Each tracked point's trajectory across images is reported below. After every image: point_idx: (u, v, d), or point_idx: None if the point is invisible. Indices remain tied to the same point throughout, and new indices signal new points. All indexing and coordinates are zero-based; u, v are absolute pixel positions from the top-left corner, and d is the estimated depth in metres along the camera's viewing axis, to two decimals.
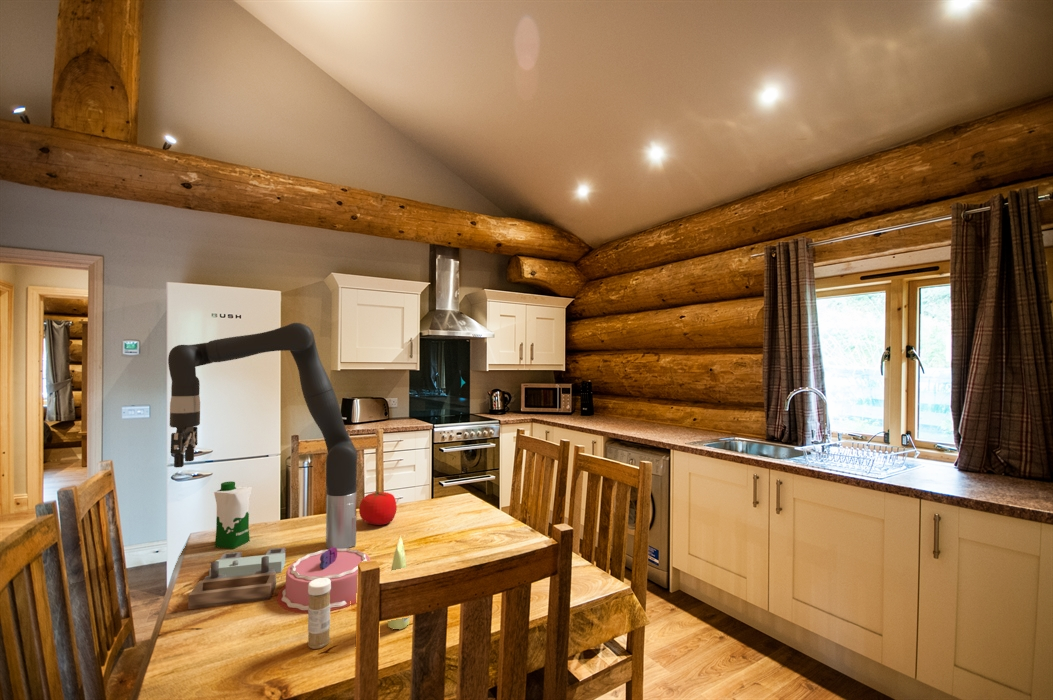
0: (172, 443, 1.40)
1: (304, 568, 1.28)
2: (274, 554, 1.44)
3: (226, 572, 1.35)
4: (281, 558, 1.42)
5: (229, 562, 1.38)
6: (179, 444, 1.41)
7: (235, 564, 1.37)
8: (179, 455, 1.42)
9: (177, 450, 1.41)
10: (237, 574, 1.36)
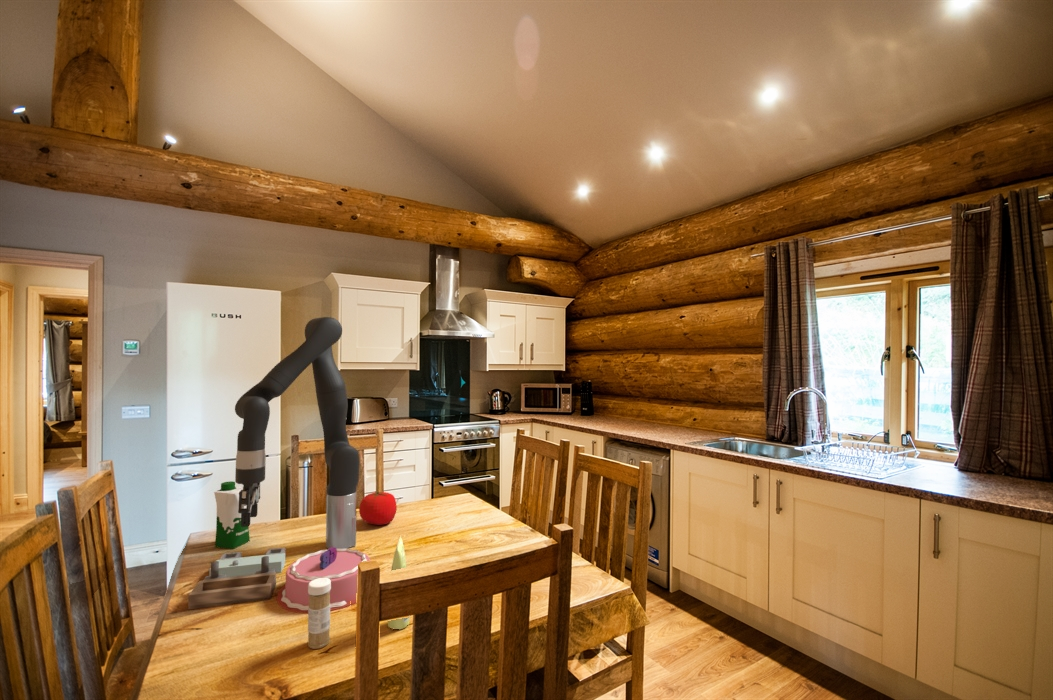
0: (240, 502, 1.33)
1: (304, 568, 1.28)
2: (274, 554, 1.44)
3: (226, 572, 1.35)
4: (281, 558, 1.42)
5: (229, 562, 1.38)
6: (247, 503, 1.34)
7: (235, 564, 1.37)
8: (246, 514, 1.35)
9: (245, 509, 1.33)
10: (237, 574, 1.36)
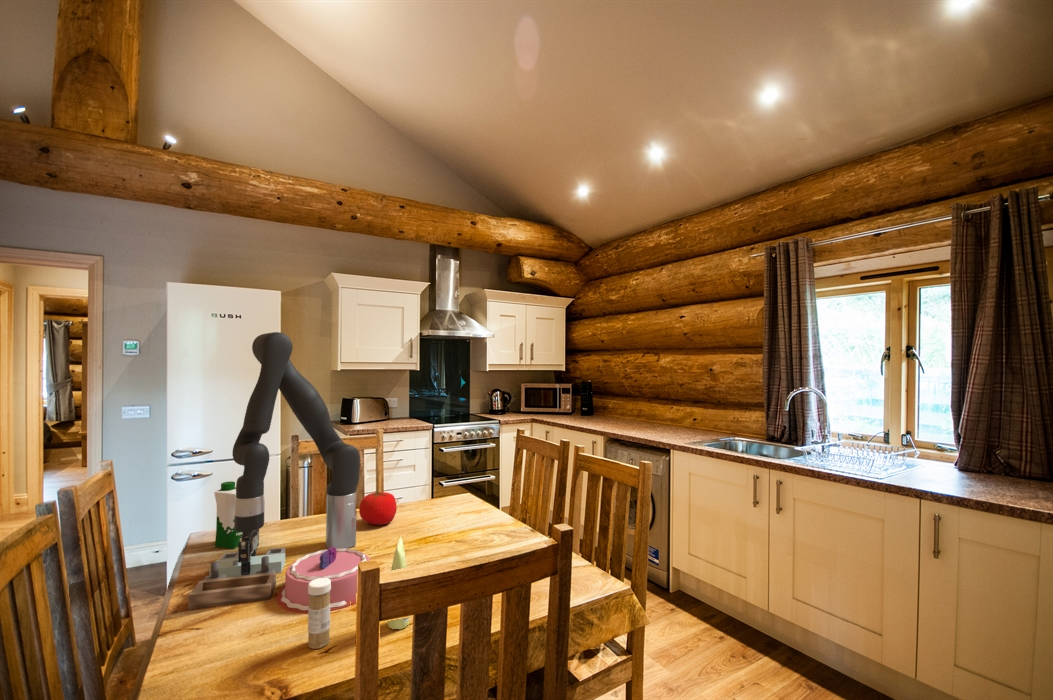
0: (239, 553, 1.33)
1: (303, 568, 1.28)
2: (274, 554, 1.44)
3: (226, 572, 1.35)
4: (281, 558, 1.42)
5: (229, 562, 1.38)
6: (247, 553, 1.34)
7: (235, 564, 1.37)
8: (246, 563, 1.36)
9: (245, 559, 1.34)
10: (237, 574, 1.36)
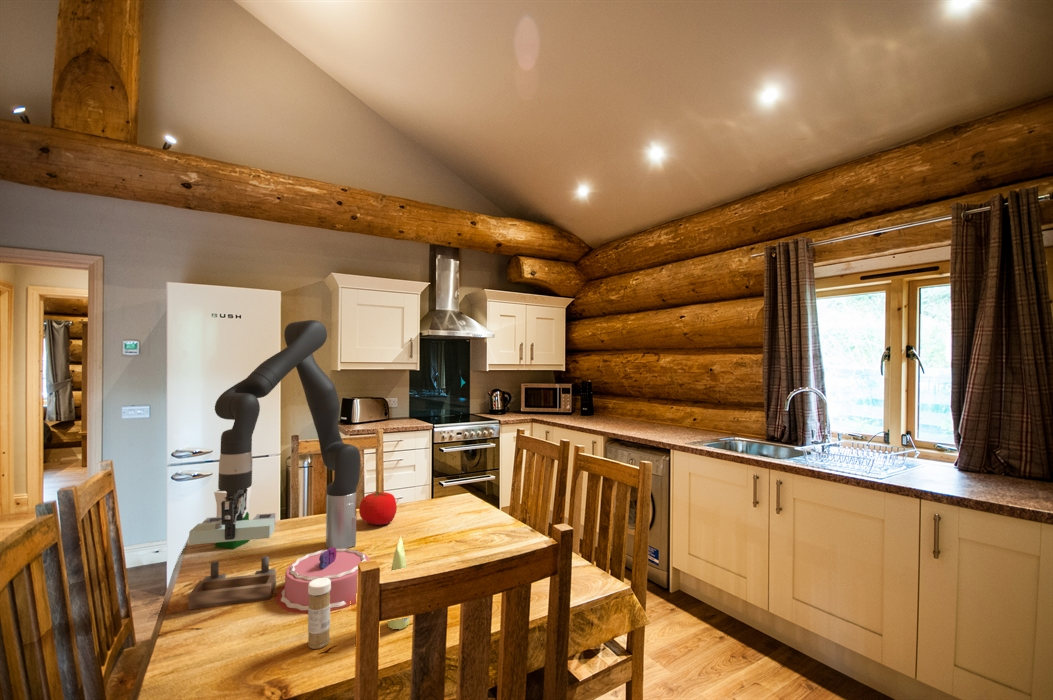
0: (223, 513, 1.20)
1: (303, 568, 1.28)
2: (262, 519, 1.30)
3: (208, 536, 1.22)
4: (270, 523, 1.28)
5: (211, 525, 1.25)
6: (231, 514, 1.20)
7: (218, 527, 1.23)
8: (231, 526, 1.22)
9: (229, 520, 1.20)
10: (220, 538, 1.22)
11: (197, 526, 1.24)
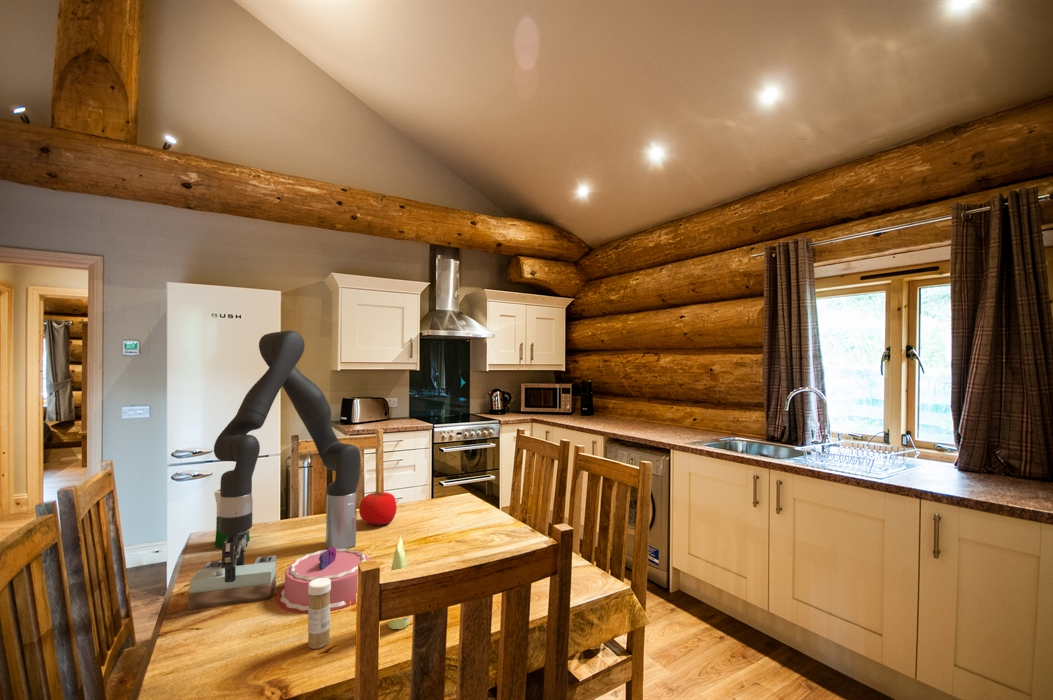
0: (223, 556, 1.19)
1: (303, 568, 1.28)
2: (263, 563, 1.30)
3: (209, 584, 1.21)
4: (271, 568, 1.27)
5: (212, 572, 1.24)
6: (231, 557, 1.19)
7: (219, 575, 1.22)
8: (231, 568, 1.21)
9: (229, 564, 1.19)
10: (221, 586, 1.22)
11: (198, 573, 1.23)
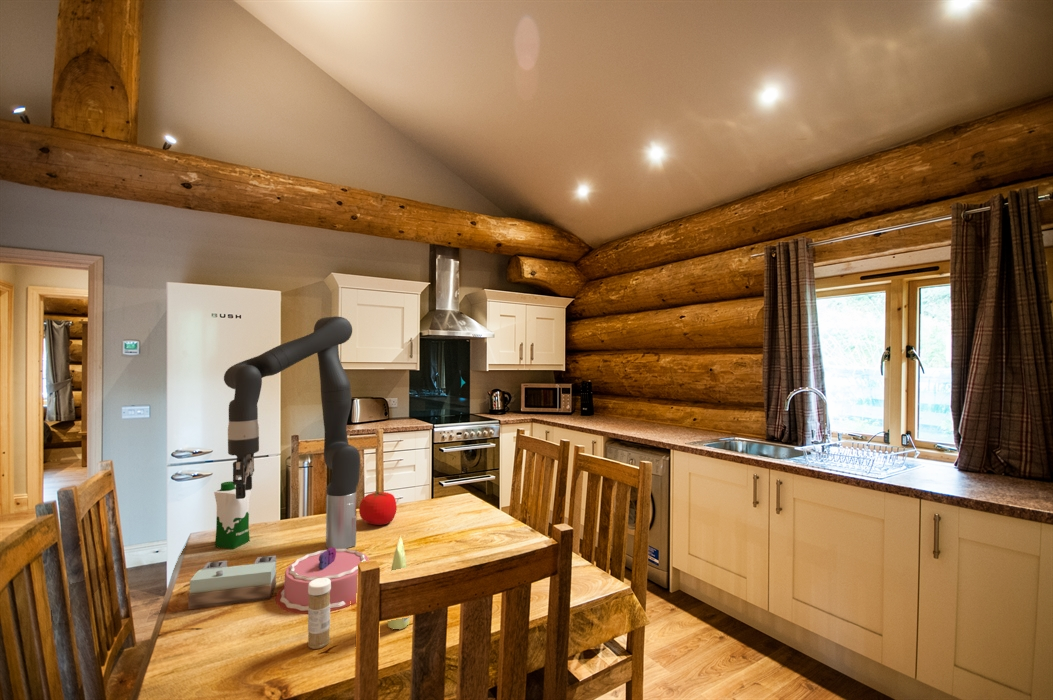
0: (234, 473, 1.29)
1: (303, 568, 1.28)
2: (263, 563, 1.30)
3: (209, 584, 1.21)
4: (271, 568, 1.27)
5: (212, 572, 1.24)
6: (242, 474, 1.29)
7: (219, 575, 1.22)
8: (241, 486, 1.31)
9: (240, 481, 1.29)
10: (221, 586, 1.22)
11: (198, 573, 1.23)
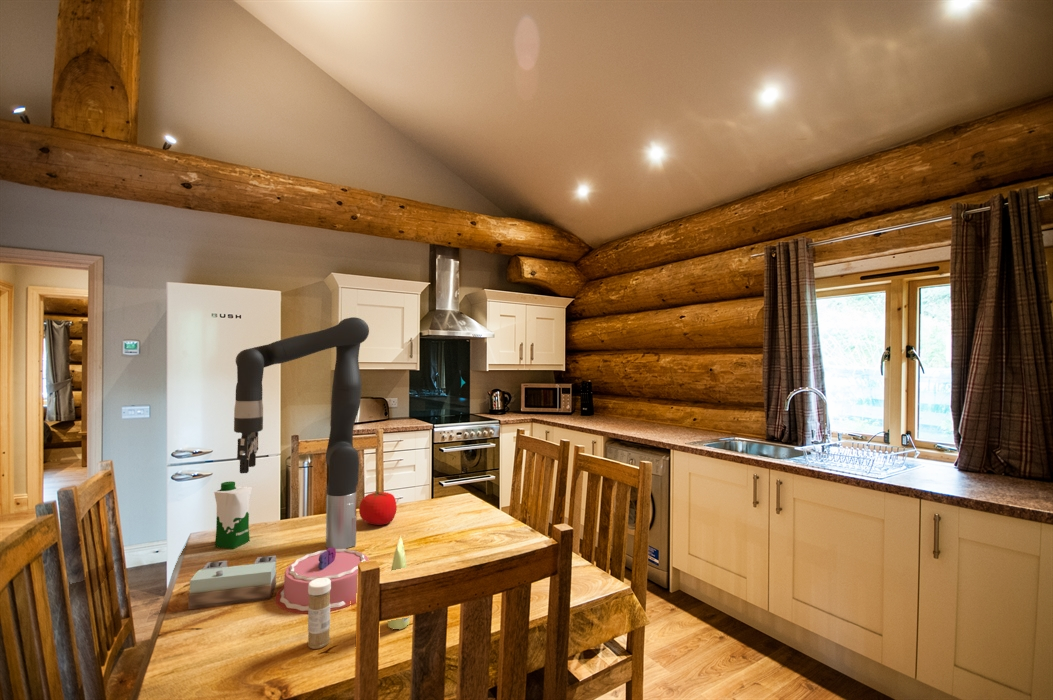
0: (239, 449, 1.38)
1: (302, 568, 1.28)
2: (263, 563, 1.30)
3: (209, 584, 1.21)
4: (271, 568, 1.27)
5: (212, 572, 1.24)
6: (245, 450, 1.39)
7: (219, 575, 1.22)
8: (245, 461, 1.40)
9: (243, 456, 1.39)
10: (221, 586, 1.22)
11: (198, 573, 1.23)
